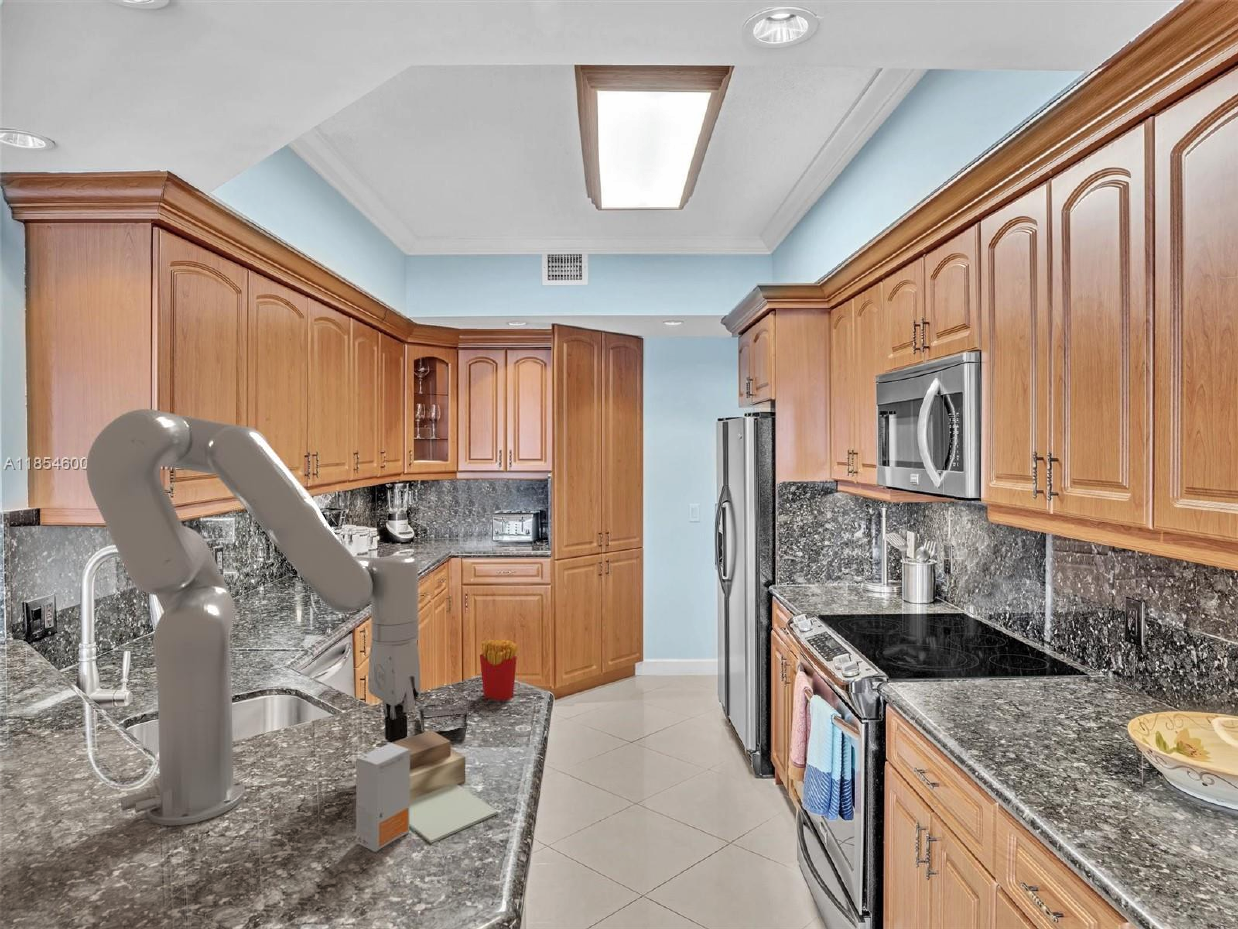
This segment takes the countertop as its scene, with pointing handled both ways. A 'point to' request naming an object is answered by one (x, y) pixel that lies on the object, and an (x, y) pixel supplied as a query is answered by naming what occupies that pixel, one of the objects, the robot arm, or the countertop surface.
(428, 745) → the walnut block
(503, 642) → the french fries
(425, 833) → the mat
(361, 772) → the skincare box
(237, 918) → the countertop surface
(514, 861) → the countertop surface
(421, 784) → the platform
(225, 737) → the robot arm
